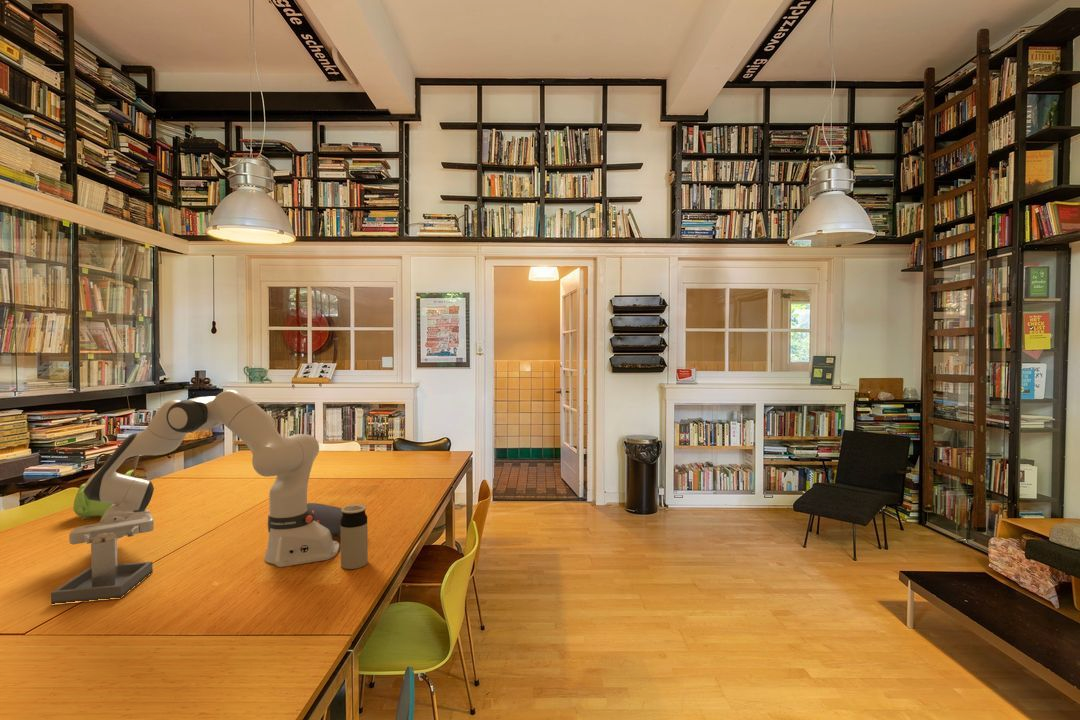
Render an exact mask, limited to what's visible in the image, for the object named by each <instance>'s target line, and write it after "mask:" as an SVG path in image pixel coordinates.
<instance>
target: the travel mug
mask: <svg viewBox="0 0 1080 720" xmlns="http://www.w3.org/2000/svg"><path fill="white" fill-rule="evenodd" d="M341 508H342V509H341V511H342V514H343V516H342V518H341V520H340V527H341V535H340V567H341V568H343V569H346V570H356V569H360V568H363V567H364V566H366V565H367V564H368V562H369V561H368V560H369V559H368V558H369V557H368V554H369V552H368V551H369V550H368V549H369V546H368V544H369V543H368V539H369V538H368V515H367V514H366V510H367V505H364V504H349V505H346V506H344V507H341Z"/></svg>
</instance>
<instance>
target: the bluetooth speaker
mask: <svg viewBox="0 0 1080 720" xmlns="http://www.w3.org/2000/svg"><path fill="white" fill-rule="evenodd" d="M342 508H343V507H339V506H338V507H337V506H334V505H329V504H324V503H317V502H307V509H308V510H310V511H311V512H312V511H313V510H314V521H316V522H317V523H319V524H321V525H322V526H324V527H326V528H328V529H329V530H330V532H331V535H332V537H338V536H341V527H340V520H341V518H342V516H343V514H342V511H341V509H342Z"/></svg>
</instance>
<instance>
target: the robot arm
mask: <svg viewBox="0 0 1080 720" xmlns="http://www.w3.org/2000/svg"><path fill="white" fill-rule="evenodd" d="M220 426H225V427H226V428H227V429H228V430H229V431H230V432H231V433H233V434H234V435H235V436H237V438H239V439H240V440H241V441H242V442H244V444H245V445H246V447H248V449H249V450H250V452H251V454H252V459H251V463H252V466H253V469H254V471H255V472H256V473H257V474H258V475H259V476H261V477H262V476H263V477H265V478H266V477H275V478H276V479H275V480H274V483H273V484H272V486H271V488H270V490H269V493H268V494H269V496H268V497H269V501H268V503H269V514H268V515H267V530H268V541H267V546H266V547H267V548H266V552H265V555H264V558H263V559H264V561H265V562H267V563H268V564H272V565H275V566H276V567H278V568H283V567H289V566H290V567H291V566H296V565H297V566H298V565H302V564H309V563H313V562H314V563H315V562H320V561H327V560H331V559H332V558H334V557H335V556H336V555H337V554H338V553H339V550H340V549H341V545H340V543H339V542H338V540H333V536H332V535H331V532H330V530H329V529H328V528H326V527H324V526H322V525H321V524H319V523H317V522H316V521H314V510H313V511H312V512H311V511H310V510H308V509H307V504H308V485H309V480H310V475H311V471H312V467H313V464H314V461H315V460H316V458H317V456H318V454H319V452H320V444H319V442H318V440H317V438H316V437H314V435H313V436H312V435H311V434H305V433H297V434H293V435H289V436H286V437H285V436H283V435H281V434H280V433H279V431H278V430H277V428H276V420H275V419H274V418H273V416H271V415H270V414H269V413H268V412H267V411H265V410H264V409H263V408H261V406H259V404H257V403H256V402H255V401H253V400H252V399H250V398H249V397H247V396H246V395H244V394H242V393H240V392H239V391H237V390H234V389H227V390H223V391H222V392H220V393H218V394H216V395H209V396H197V397H194V398H190V399H183V400H180V399H172V400H167V401H166V402H165V403H163V404H162V406H161V407H160V408H159V409H158V410H157V411H156V412H155V414H154V415H153V417H152V418H151V420H150V422H149V423H148V425H147V427H146V428H145V429H143V430H142V431H139V432H138V433H136V432H135V433H132V434H130V435H129V436H128V437H127V438H125V439H124V440H123V441H122V443H120V444H119V446H117V448H116V449H115V450H114V451H113V453H112V454H111V455H110V456H109V457H108V458H107V459H106V460H105V461H104V462H103V464H102V465H101V466H100V468H99V469H98V470H97V471H95V473H93V474H91V476H90V477H89V478H88V480H86V482H85V483H86V484H85V483H84V484H85V486H84V490H83V492H84V494H85V495H86V497H87V498H88V499H89V500H94V501H103V502H108V503H112V505H111V506H110V507H109V508H108V509H107V510H106V511H105V513H104V515H103V517H102V518H101V519H100V521H99V523H93V524H92V523H91V524H86V525H85V524H84V525H81V526H77V527H75V528H74V529H73V530H71V531H70V532H69V535H68V537H69V538H68V539H69V540H68V541H69V544H70V545H79V544H84V543H85V544H88V545H89V544H91V543H92V542H93V540H94V538H95V536H97V535H99V534H103V533H107V534H108V533H114V534H115V535H117V540H118V539H121V538H123V537H126V536H127V537H128V538H130V537H134V536H135V535H137V534H143V533H144V534H145V533H149V532H153V531H154V529H155V527H154V525H155V524H154V516H153V514H151V513H150V512H151V511H150V510H149V509H147V508H148V506H149V504H150V502H151V499H152V498H153V494H154V491H155V487H154V484H153V483H152V481H151V480H149V479H144V478H140V477H136V476H132V475H130V476H128V475H125V473H124V474H122V473H119V472H117V470H118V469H119V468H120V466H121V465H122V464H123V463H124V462H125V460H127V459H129V458H131V457H138V456H162V455H167V454H168V453H171V452H173V451H175V450H176V449H178V448H179V446H180V445H181V444H182V443H183V442H184V439H185V438H186V436H187V434H189V433H193V432H199V431H203V430H204V431H205V430H210V429H214V428H217V427H220Z"/></svg>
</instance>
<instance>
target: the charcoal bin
mask: <svg viewBox="0 0 1080 720" xmlns="http://www.w3.org/2000/svg"><path fill="white" fill-rule="evenodd" d="M153 569H154V568H153V561H143V562H132V563H131V562H130V563H129V562H128V563H120V564H119V563H118V580H117V583H116V585H114V586H102V587H92V566H89V567H88V568H86V569H84V570H83V571H82V572H80V573H79V574H77V575H76V576H74V577H72V578H71V579H69V580H68V581H67V582H65V583H63V584H61V585H60V586H59V587H57V588H56V589H55V590H53V591H51V592H50V605H51V604H55V603H66V602H75V601H89V600H98V599H110V598H121V597H122V596H123V595H125V594H126V593H127V592H128V591H129V590H131V589H132V588H133V587H134V586H136V585H137V584H138V583H139V582H141V581H142V580H143V579H144V578H145V577H147V576H148V575H149V574H151V573H152V572H153ZM153 573H154V572H153ZM153 573H152V574H153ZM152 574H151V575H152ZM149 576H150V575H149ZM149 576H148V577H149ZM148 577H147V578H148ZM143 581H144V580H143ZM143 581H142V582H143ZM142 582H141V583H142ZM137 586H138V585H137ZM137 586H136V587H137ZM131 591H132V590H131ZM125 596H126V595H125Z"/></svg>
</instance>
